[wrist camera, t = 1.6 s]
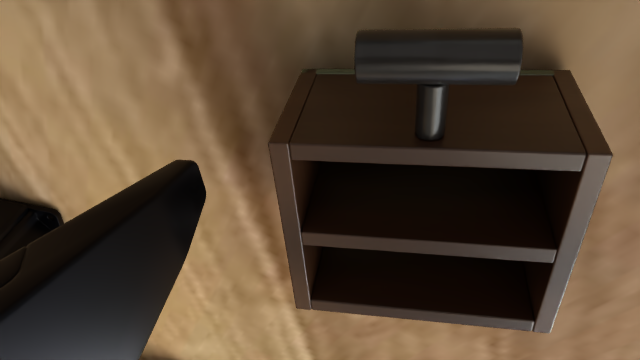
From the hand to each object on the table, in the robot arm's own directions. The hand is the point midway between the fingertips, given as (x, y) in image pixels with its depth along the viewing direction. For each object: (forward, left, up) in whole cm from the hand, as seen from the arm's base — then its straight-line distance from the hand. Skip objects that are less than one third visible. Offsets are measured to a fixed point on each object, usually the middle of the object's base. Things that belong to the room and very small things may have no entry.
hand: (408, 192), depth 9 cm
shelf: (-7, -2, -14) cm, 15 cm away
